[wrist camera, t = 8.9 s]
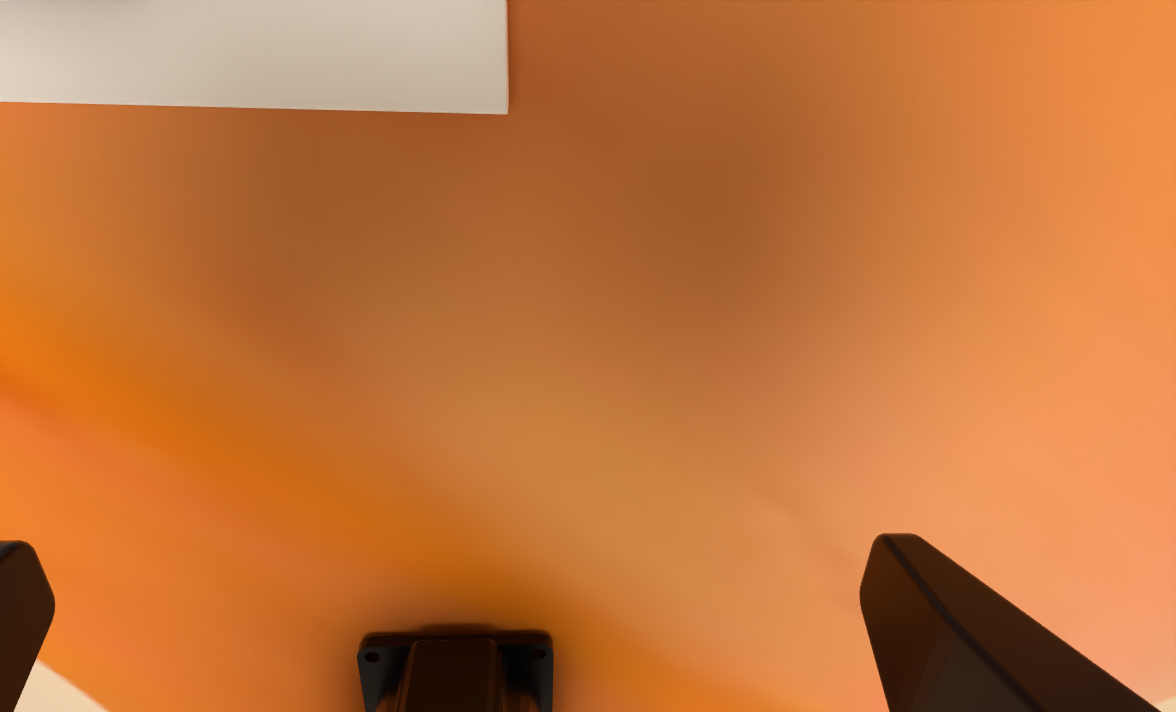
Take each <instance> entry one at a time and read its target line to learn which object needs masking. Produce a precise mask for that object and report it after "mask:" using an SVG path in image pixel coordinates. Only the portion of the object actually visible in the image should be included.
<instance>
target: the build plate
mask: <svg viewBox="0 0 1176 712" xmlns="http://www.w3.org/2000/svg"><path fill="white" fill-rule="evenodd" d="M0 102H39V103H79V104H118V105H157V106H197V107H236V108H276V109H315V110H354V111H394V112H433V113H472V114H507V113H508V107H509V72H508V2H507V0H0Z"/></svg>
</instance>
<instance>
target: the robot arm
mask: <svg viewBox="0 0 1176 712" xmlns="http://www.w3.org/2000/svg"><path fill="white" fill-rule="evenodd" d="M860 605H861V610H862V614H863V617H864V621H865V625H866V628H867V632H868V635H869V639H870V643H871V646H872V650H873V654H874V657H875V661H876V664H877V668H878V672H879V675H880V679H881V683H882V686H883V690H884V693H885V697H886V701H887V704H888V708H889V712H1161V711H1159V710H1158V709H1157V708H1156V707H1154V706H1153V705H1151V704H1150V703H1149V702H1147V701H1146V700H1144V699H1143V698H1142V697H1140V696H1139V695H1138V694H1136V693H1135V692H1133V691H1132V690H1131V689H1129V688H1128V687H1127V686H1125V685H1124V684H1122V683H1121V682H1120V681H1118V680H1117V679H1116V678H1114V677H1113V676H1111V675H1110V674H1109V673H1107V672H1106V671H1105V670H1103V669H1102V668H1100V667H1099V666H1098V665H1096V664H1095V663H1093V662H1092V661H1091V660H1089V659H1088V658H1087V657H1085V656H1084V655H1082V654H1081V653H1080V652H1078V651H1077V650H1076V649H1074V648H1073V647H1071V646H1070V645H1069V644H1067V643H1066V642H1065V641H1063V640H1062V639H1060V638H1059V637H1058V636H1056V635H1055V634H1054V633H1052V632H1051V631H1049V630H1048V629H1047V628H1045V627H1044V626H1042V625H1041V624H1040V623H1038V622H1037V621H1036V620H1034V619H1033V618H1031V617H1030V616H1029V615H1027V614H1026V613H1025V612H1023V611H1022V610H1020V609H1019V608H1018V607H1016V606H1015V605H1014V604H1012V603H1011V602H1009V601H1008V600H1007V599H1005V598H1004V597H1002V596H1001V595H1000V594H998V593H997V592H996V591H994V590H993V589H991V588H990V587H989V586H987V585H986V584H985V583H983V582H982V581H980V580H979V579H978V578H976V577H975V576H974V575H972V574H971V573H969V572H968V571H967V570H965V569H964V568H963V567H961V566H960V565H958V564H957V563H956V562H954V561H953V560H951V559H950V558H949V557H947V556H946V555H945V554H943V553H942V552H940V551H939V550H938V549H936V548H935V547H934V546H932V545H931V544H929V543H928V542H927V541H925V540H924V539H923V538H921V537H919V536H918V535H915V534H911V533H884V534H881V535H878V536H877V537H876V538H875V540H874V542H873V544H872V547H871V551H870V554H869V558H868V561H867V565H866V568H865V571H864V575H863V578H862V582H861V586H860ZM54 612H55V599H54V594H53V592H52V589H51V587H50V584H49V582H48V580H47V577H46V575H45V573H44V570H43V568H42V566H41V563H40V561H39V558H38V556H37V554H36V551H35V550H34V548H33V547H32V546H31V545H30V544H29V543H27V542H24V541H19V540H11V541H0V712H14V709H15V707H16V704H17V702H18V700H19V698H20V695H21V693H22V690H23V688H24V686H25V683H26V681H27V679H28V676H29V674H30V672H31V669H32V667H33V665H34V662H35V660H36V658H37V655H38V653H39V651H40V648H41V646H42V644H43V641H44V639H45V637H46V634H47V632H48V630H49V627H50V625H51V623H52V620H53V616H54ZM537 649H539V650H537ZM357 661H358V667H359V673H360V679H361V685H362V691H363V697H364V703H365V709H366V712H552V699H553V641H552V640H551V639H550V638H549V637H548V636H545V635H541V634H525V635H465V636H405V637H370V638H366V639H364V640H363V641H362V642H361V643H360V646H359V650H358V654H357Z"/></svg>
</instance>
